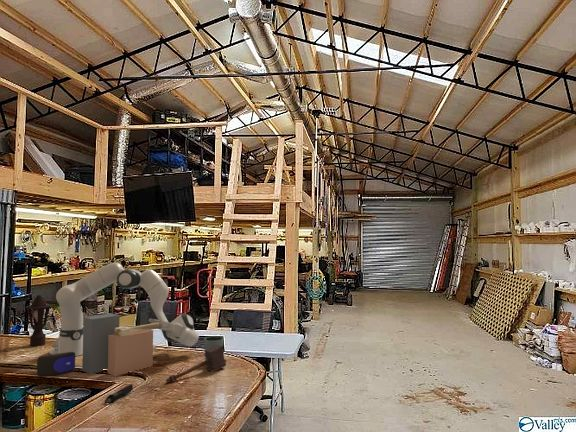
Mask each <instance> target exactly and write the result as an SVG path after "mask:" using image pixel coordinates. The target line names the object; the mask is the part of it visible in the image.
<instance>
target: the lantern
mask: <svg viewBox="0 0 576 432" xmlns="http://www.w3.org/2000/svg"><path fill="white" fill-rule="evenodd" d="M52 307H53V305H52V304H49V303H48V304H47V302H46V301H45V300H44V297H42V295H41V294H37V295H36V296H35V298H34V300H33V301H32V303H31V304H30V305H26V306H25V309H26V310H27V313H28V321H29V324H30V328H32V330H33V332H32V335H30V337H29V338H30V339H29V347H43V346H45V345H46V336H47V335H46V334H45V333H44V328H45V327H46V326H47V325H46V324H47V322H48V318H49V317H48V316H49V312H50V309H51V308H52ZM32 311H33V312H32Z"/></svg>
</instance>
